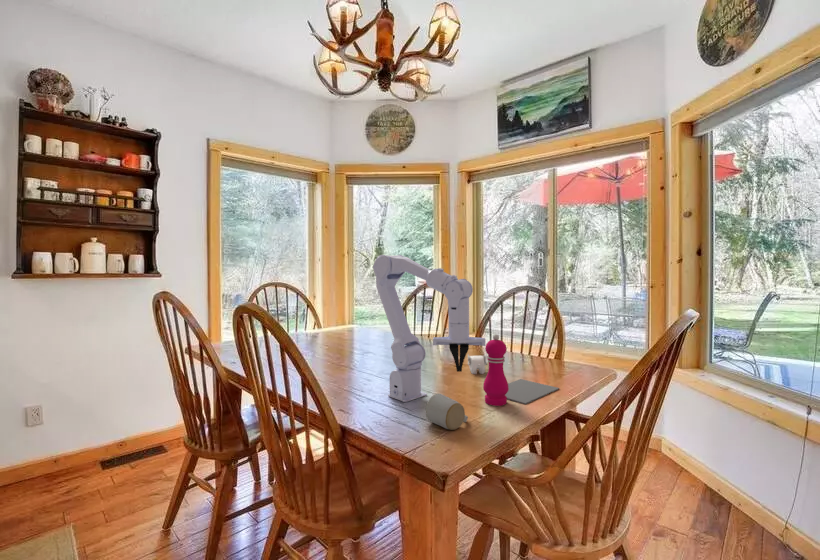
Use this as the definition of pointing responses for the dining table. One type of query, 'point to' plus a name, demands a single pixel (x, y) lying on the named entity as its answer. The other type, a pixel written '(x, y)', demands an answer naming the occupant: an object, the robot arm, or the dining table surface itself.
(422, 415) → the dining table surface
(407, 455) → the dining table surface
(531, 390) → the mat
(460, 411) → the ceramic mug
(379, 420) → the dining table surface
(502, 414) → the dining table surface
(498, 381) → the pepper mill
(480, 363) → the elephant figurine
